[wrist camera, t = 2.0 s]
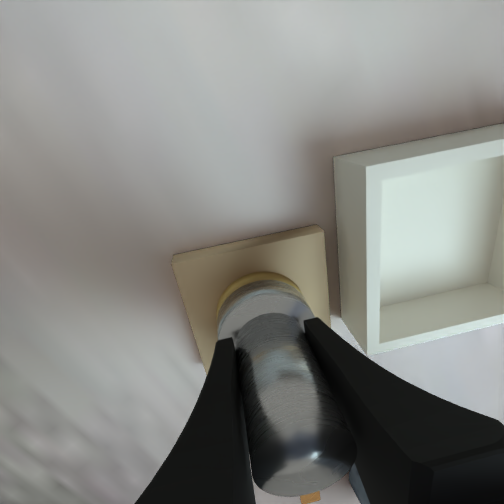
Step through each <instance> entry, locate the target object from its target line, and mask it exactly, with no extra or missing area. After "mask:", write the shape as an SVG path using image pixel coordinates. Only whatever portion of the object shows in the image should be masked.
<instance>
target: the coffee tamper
mask: <svg viewBox="0 0 504 504" xmlns="http://www.w3.org/2000/svg"><path fill="white" fill-rule="evenodd" d="M311 318H315V316H314V314H313V312H312V311H311V309H310V307H309V305H308V303H307V302H306V300H305V298H304V296H303V295H302V294H301V293H300V292H299V291H298V290H297V289H296V288H295V287H293V286H291V285H289V284H287V283H285V282H282V281H277V280H260V281H255V282H251V283H249V284H246V285H244V286H242V287H240V288H238V289H237V290H235V291H234V292H233V293H232V294H231V295H230V296H228V298H227V299H226V300H225V301H224V303H223V304H222V306H221V308H220V310H219V313H218V317H217V334H218V340H221V339H225V338H230V337H232V338H233V342H234V346H235V350H236V356H237V364H238V372H239V380H240V387H241V395H242V402H243V410H244V417H245V425H246V432H247V440H248V447H249V455H250V462H251V470H252V476H253V479H254V482H255V483H256V485H257V486H258V487H259V488H260V489H262V490H263V491H265V492H267V493H270V494H273V495H277V496H284V497H293V496H300V500H301V504H308V503H311V502H315V501H319V500H320V493H319V491H320V490H322V489H325V488H327V487H329V486H330V485H332V484H334V483H335V482H337V481H338V480H340V479H341V478H342V477H343V476H344V475H345V474H346V473H347V472H348V471H349V470H350V469H351V467H352V466H353V464H354V462H355V460H356V457H357V445H356V442H355V440H354V438H353V436H352V433H351V431H350V429H349V427H348V425H347V423H346V421H345V418H344V416H343V414H342V412H341V410H340V408H339V406H338V403H337V401H336V399H335V397H334V395H333V393H332V391H331V388H330V386H329V384H328V382H327V380H326V378H325V376H324V373H323V371H322V369H321V367H320V365H319V363H318V361H317V359H316V356H315V354H314V352H313V350H312V348H311V346H310V344H309V341H308V339H307V337H306V335H305V330H304V322H303V320H307V319H311Z"/></svg>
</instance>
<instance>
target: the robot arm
mask: <svg viewBox="0 0 504 504" xmlns="http://www.w3.org/2000/svg"><path fill="white" fill-rule="evenodd" d="M303 322H304V330H305V335H306V337H307V339H308V341H309V344H310V346H311V348H312V350H313V352H314V354H315V356H316V359H317V361H318V363H319V365H320V367H321V369H322V371H323V373H324V376H325V378H326V380H327V382H328V384H329V386H330V388H331V391H332V393H333V395H334V397H335V399H336V401H337V403H338V406H339V408H340V410H341V412H342V414H343V416H344V418H345V421H346V423H347V425H348V427H349V429H350V431H351V433H352V436H353V438H354V440H355V442H356V445H357V457H356V460H355V462H354V463H355V466H356V468H357V471H358V473H359V476H360V479H361V481H362V484H363V486H364V489H365V492H366V494H367V497H368V500H369V502H370V504H504V425H503V424H502V423H501V422H500V421H498V420H496V419H493V418H490V417H488V416H485V415H482V414H479V413H477V412H474V411H471V410H468V409H466V408H463V407H460V406H458V405H456V404H453V403H451V402H449V401H446V400H444V399H441V398H439V397H437V396H435V395H433V394H430V393H428V392H426V391H424V390H422V389H420V388H418V387H416V386H414V385H412V384H410V383H408V382H406V381H404V380H403V379H401V378H399V377H397V376H396V375H394V374H392V373H391V372H389V371H387V370H386V369H384V368H382V367H381V366H379V365H378V364H376V363H375V362H373V361H372V360H370V359H369V358H367V357H366V356H365V355H363V354H362V353H360V352H359V351H358V350H356V349H355V348H354V347H353V346H351V345H350V344H349V343H347V342H346V341H345V340H344V339H342V338H341V337H340V336H339V335H338V334H336V333H335V332H334V331H333V330H332V329H331V328H330V327H328V326H327V325H326V324H325V323H324V322H323V321H322V320H321V319H320V318H318V317H316V318H311V319H307V320H303ZM135 504H256V502H255V496H254V489H253V482H252V475H251V468H250V459H249V447H248V440H247V432H246V425H245V417H244V410H243V402H242V395H241V387H240V380H239V372H238V364H237V356H236V350H235V346H234V342H233V338H232V337H230V338H225V339H221V340H218V341H217V342H216V344H215V349H214V354H213V358H212V361H211V365H210V368H209V371H208V374H207V377H206V380H205V383H204V385H203V388H202V390H201V393H200V395H199V398H198V400H197V403H196V405H195V407H194V409H193V411H192V413H191V416H190V418H189V420H188V422H187V423H186V425H185V427H184V429H183V431H182V433H181V435H180V436H179V438H178V440H177V442H176V444H175V445H174V447H173V449H172V450H171V452H170V454H169V455H168V457H167V458H166V460H165V461H164V463H163V464H162V466H161V467H160V469H159V470H158V472H157V473H156V475H155V476H154V478H153V479H152V481H151V482H150V484H149V485H148V486H147V488H146V489H145V491H144V492H143V493H142V495H141V496H140V497H139V498H138V500H137V501H136V502H135Z"/></svg>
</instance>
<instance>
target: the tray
mask: <svg viewBox="0 0 504 504" xmlns="http://www.w3.org/2000/svg"><path fill="white" fill-rule="evenodd" d="M333 163H334V183H335V202H336V222H337V241H338V261H339V280H340V300H341V319H342V320H343V322H344V323H345V325H346V326H347V328H348V329H349V330H350V332H351V333H352V335H353V336H354V338H355V339H356V341H357V342H358V344H359V345H360V346H361V348H362V349H363V351H364V352H365V354H366V355H367V356H371V355H375V354H379V353H383V352H387V351H391V350H395V349H399V348H403V347H408V346H412V345H416V344H420V343H424V342H428V341H432V340H436V339H440V338H445V337H449V336H453V335H457V334H461V333H465V332H469V331H473V330H477V329H481V328H486V327H490V326H494V325H498V324H502V323H504V123H501V124H496V125H491V126H486V127H481V128H476V129H471V130H466V131H461V132H456V133H451V134H446V135H441V136H436V137H431V138H426V139H421V140H416V141H411V142H406V143H401V144H396V145H391V146H386V147H381V148H376V149H371V150H366V151H361V152H356V153H351V154H346V155H341V156H336V157H333Z"/></svg>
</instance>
